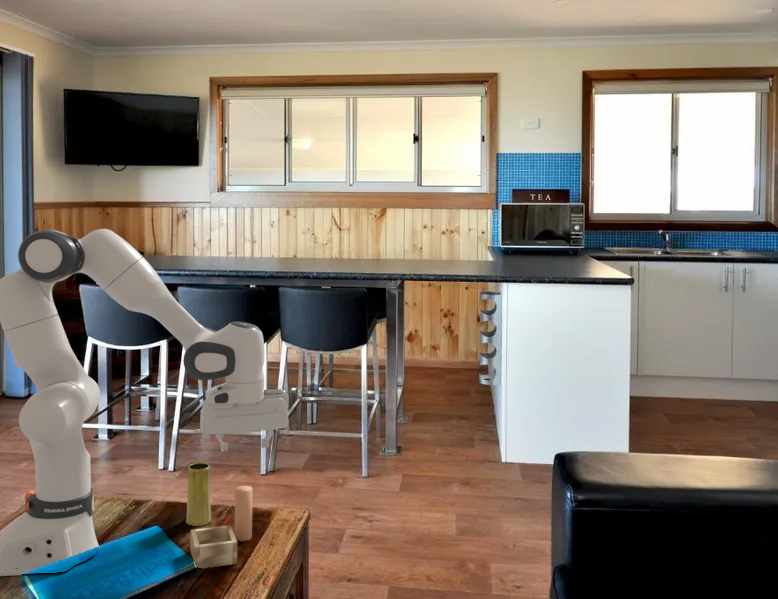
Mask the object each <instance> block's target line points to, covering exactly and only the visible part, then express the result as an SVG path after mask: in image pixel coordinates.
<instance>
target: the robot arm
mask: <svg viewBox="0 0 778 599" xmlns="http://www.w3.org/2000/svg"><path fill="white" fill-rule="evenodd" d="M17 258H18V262H19V265H20V268H19V269H18V270H16V271H13V272H10V273H8V274H6V275H4V276H3V277H1V278H0V326H1V327H2V330H3V333H4V337H5V339H6V341H7V345H8V347H9V350H10V352H11V354H12V357H13V360H14V362H15V364H16V366H17V367H18V368H19V369H20V370H22V371H23V372H25V373H26V375H27V377H29V378H30V380H31V382H32V383H33V384H34V387H36V389H37V392H35V393H33V395H31V396H30V397H29V398H28V399H27V401H26V402H25V404H24V405H23V407H22V408H21V410H20V413H19V417H18V425H19V429H20V431H21V433H22V435H24V436H25V437H26V438H27V439H28V441H29V444H30V447H31V450H32V455H33V460H34V472H35V474H34V476H35V491H34V490H31V489H30V490H28V491H27V492H26V493H25V496H24V499H25V507H24V508H25V512H23V513H22V514H21V515H19V516H18V517H17V518H15V519H14V520H12V521H11V522H10V523H9V524H8V525H6V526H5V527H4V528H3V530H2V532H1V533H0V577H5V576H6V577H7V576H23V575H22V573H23V572H28V571H30V570H33V569H36V568H39V567H41V566H44V565H46V564H50V563H52V562H56V561H59V560H62V559H65V558H69V557H71V556H74V555H77V554H79V553H83V552H85V551H87V550H91V549H93V548H95V547H98V546H99V547H100V545H99V542H98V540H97V536H96V532H95V527H94V520H93V514H94V509H95V507H94V505H95V501H94V500H95V499H94V490H93V487H92V481H91V480H92V477H91V476H92V475H91V472H92V471H91V467H92V466H91V454H90V453H89V452H88V450H87V449H86V445H85V442H84V437H83V426H84V422H86V421H87V420H88V419H90V418H91V417H92V415H93V414H94V413H95V412H96V410H97V408H98V406H99V403H100V400H101V389H100V387H99V385H98V384H97V382H96V381H95V380H94V379H93V378H92V377H91V376H89V375H88V374H87V372H86V370H85V369H84V367H83V365H82V364H81V362H80V360H78V358H77V355H76V354H75V352H74V350H73V349H72V347H71V344H70V342H69V339H68V337H67V334H66V331H65V329H64V326H63V324H62V321H61V318H60V316H59V313H58V309H57V308H56V305H55V301H54V298H53V289H54V287H56V286H57V285H59V284H60V283H62V282H63V281H65V280H67V279H68V278H69V277H71V276H72V275H74V274H76V273H81V274H84V275H87V276H88V277H89V278H91V279H92V280H93V281H94V282H95V283H96V284H97V285H98V286H99V287H100V288H101V289H102V290H103V291H104V292H105V293H106V295H108V296H109V297H110V298H111V299H113V301H115V302H116V303H118V304H119V305H120V306H122V307H123V308H124V309H126V310H128V311H131V312H134V313H135V312H136V313H141V314H145V315H147V316H150V317H152V318H154V319H155V320H156V321H158V322H159V323H160V324H161V325H162V326H163V327H164V329H166V330H167V331H168V332H169V333H170V334H171V335H172V336H173V337H175V339H177V340H178V342H180V344H181V345H182V347H183V350H184V354H183V360H182V361H183V366H184V369H185V371H186V373H187V374H188V375H189V376H190V377H192V378H193V379H195V380H197V381H198V380H199V381H211V380H216V379H222V378H225V382H224V383H222V384H219V385H216V386H214V387H210V388H208V389H207V390H206V391H205V398H206V400H204V403H203V405H202V406H201V411H200V420H199V421H200V422H199V426H200V432H202V434H203V435H204V436H205V435H206V436H209V435H210V436H211V435H215V437H216V439H217V440H218V442H219V444H220V452H222V453H224V452H229V443H228V442H227V441H223V438H224V434H231V433H232V434H233V433H243V432H255V431H265V432H266V435H265V436H264V438H260V442H261V443H260V447H261V448H262V449H266V448H269V447H270V446H269V444H270V442H269V441H270V440H271V438H272V437H273V435H274V430H276V429H277V430H279V429H280V430H281V429H286V428H287V427H288V425H289V412H288V405H289V402H290V400H289V399H290V398H289V393H288V392H287V391H286V390H283V389H281V388H278V389H265V375H264V371H263V370H264V369H263V367H264V363H265V341H264V335H263V332H262V330H261V328H259V327H258V326H257V325H255V324H254V323H253V324H252V323H250V322H249V323H248V322H243V321H232V322H229V323H228V324H227V325H226V326H223V328H220V329H219V330H214V329H212V328H209V327H207V326H205V325H203V324H201V323H200V322H199V321H198V320H197V319H196V318H195V317H194V316H193V315H192V314H191V313H190V312H189V311H188V310H187V309H185V307H184V306H183V305H181V303H180V302H179V301H177V299H176V298H175V297H174V296H173V295H172V293H171V291H169V289H168V287H167V286H166V285H165V283H164V282H163V280H162V278H161V277H160V276H159V274H158V272H157V271H156V270H155V269H154V267H153V266H152V265H151V264H150V263H149V261H148V260H147V259H146V258H145V257H144V256H143V254H142V255H141V253H140V252H139V251H138V250H137V249H135V248H134V247H133V246H132V245H131V244H130V243H128V241H126V239H124V238H123V237H121V236H120V235H118V234H117V233H116V232H114V231H113V230H110V229H108V228H99V229H95V230H92V231H90V232H89V233H87V234H86V235H85V236H83V237H81V238H77V237H74V236H71V235H68V234H66V233H65V232H62V231H59V230H56V229H42V230H37V231H35V232H32V233H30V234H29V235H27V236H26V237H25V238H24V239H23V240H22V242H21V243H20V245H19V247H18V252H17Z"/></svg>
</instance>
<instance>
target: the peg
mask: <svg viewBox="0 0 778 599" xmlns="http://www.w3.org/2000/svg"><path fill="white" fill-rule="evenodd" d="M234 489H235V491H234V492H235V493H234V494H235V495H234V535H235V537H236V540H237V541H238V540H239V541H238V542H247V541H250V540H251V539H252V537H253V534H252V533H253V490H254V489H253V487H252V486H250V485H240V486H237V487H235V488H234ZM246 540H247V541H246Z"/></svg>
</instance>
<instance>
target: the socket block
mask: <svg viewBox="0 0 778 599" xmlns="http://www.w3.org/2000/svg"><path fill="white" fill-rule="evenodd" d="M190 554H191V557H192V558H193V559H192V558H191V559H192V561H193V560H194V562H195V565H196V566H197V567H198V568H202V569H209V568H216V567H222V566H228V565H229V566H230V565H236V564H238V540H236V537H235V531H234V530H233V527H232V525H230V524H229V525H222V526H221V525H220V526H213V527H212V526H211V527H203V528H196V529H190ZM208 567H209V568H208Z"/></svg>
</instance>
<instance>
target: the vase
mask: <svg viewBox="0 0 778 599" xmlns="http://www.w3.org/2000/svg"><path fill="white" fill-rule="evenodd" d="M187 470H188V472H187V473H188V474H187V501H186V502H187V503H186V519H185V523H186V524H187V525H189V526H191V525H192V526H193V527H201V526H202V527H203V526H205V525H208V524H209V522H210V523H211V521H212V511H211V507H212V504H211V465H210V464H209V463H207V462H194V463H191V464H188V467H187Z"/></svg>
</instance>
